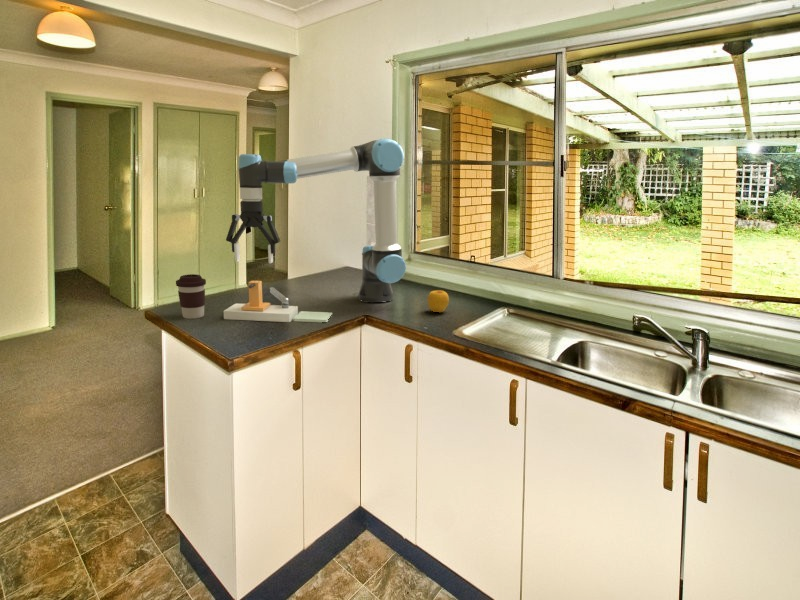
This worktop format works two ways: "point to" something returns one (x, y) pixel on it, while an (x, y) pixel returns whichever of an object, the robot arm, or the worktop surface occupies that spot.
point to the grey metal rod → (279, 296)
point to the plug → (255, 297)
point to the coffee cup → (191, 295)
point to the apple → (438, 301)
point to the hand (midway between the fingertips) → (254, 262)
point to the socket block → (262, 313)
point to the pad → (312, 316)
